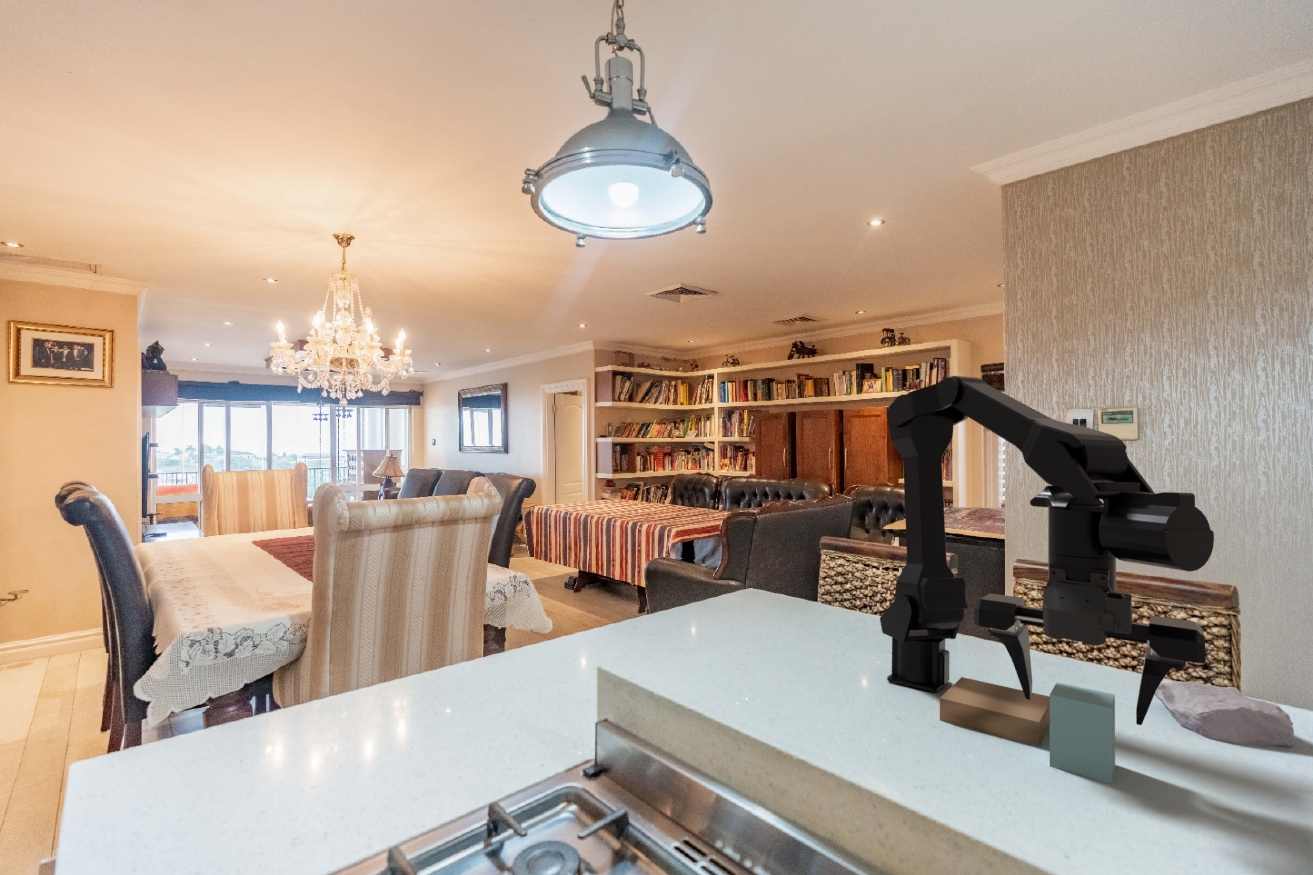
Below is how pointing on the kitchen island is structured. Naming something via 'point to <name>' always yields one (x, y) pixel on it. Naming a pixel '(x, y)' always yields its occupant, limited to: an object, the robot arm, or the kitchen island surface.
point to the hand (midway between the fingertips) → (1081, 710)
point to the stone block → (1226, 714)
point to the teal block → (1082, 731)
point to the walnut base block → (996, 710)
